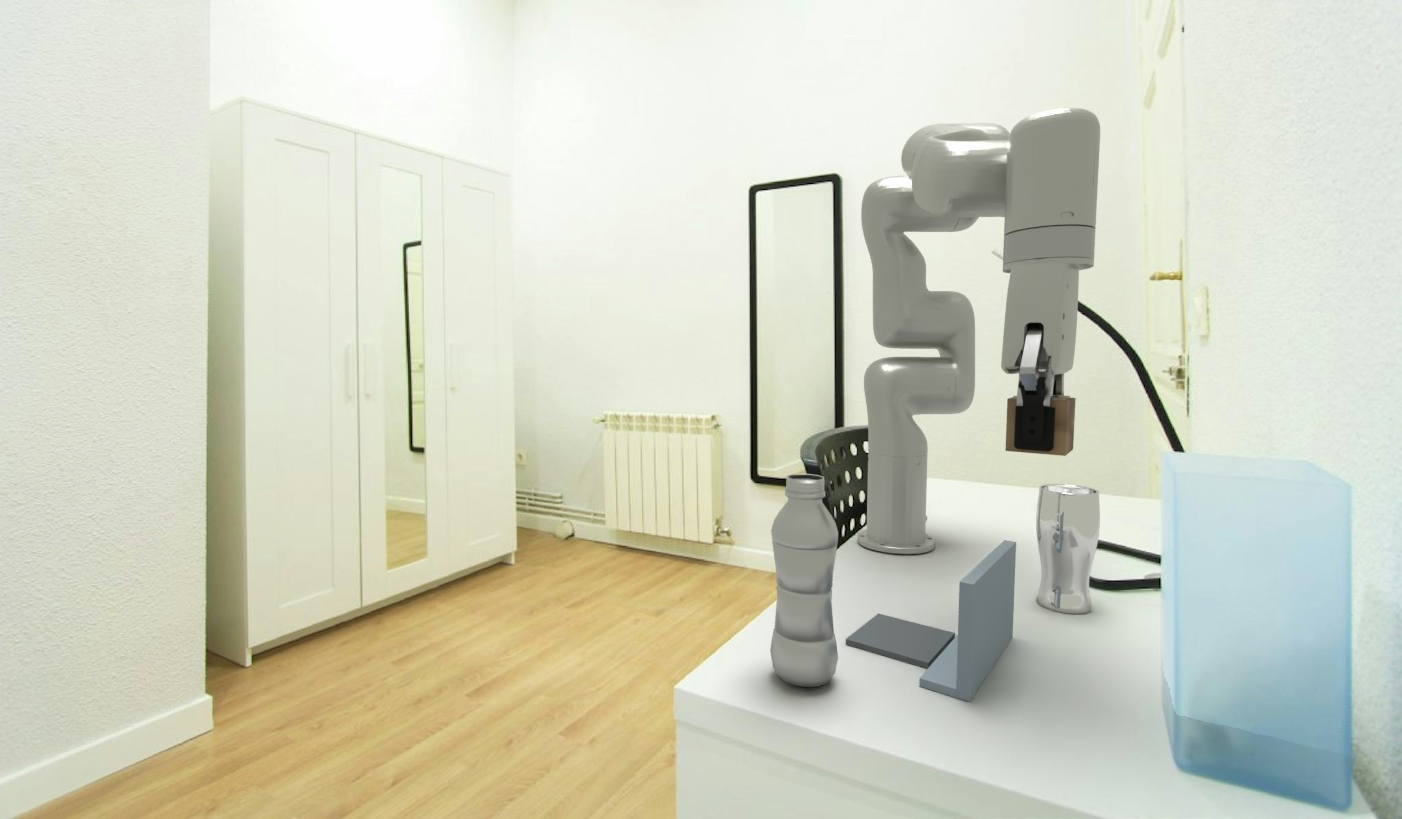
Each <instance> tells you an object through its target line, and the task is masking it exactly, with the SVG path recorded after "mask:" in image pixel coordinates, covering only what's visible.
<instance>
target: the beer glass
mask: <svg viewBox="0 0 1402 819" xmlns="http://www.w3.org/2000/svg"><path fill="white" fill-rule="evenodd" d="M1038 488H1039V490H1038V491H1039V492H1038V495H1037V496H1038V497H1037V504H1036V515H1035V516H1036V517H1035V529H1036V540H1037V547H1038V553H1039V554H1038V555H1039V561H1040V566H1041V568H1040V573H1041V576H1040V582H1039V588H1038V592H1037V594H1036V602H1037V603H1038V604H1039V605H1041V607H1043V608H1046V609H1047V610H1051V611H1053V612H1057V613H1063V614H1068V615H1069V614H1070V615H1084V614H1088V613H1090V612H1091V611H1092V607H1093V606H1092V599H1091V592H1090V575H1091V572H1092V567H1093V563H1094V559H1095V555H1096V552H1097V547H1098V542H1099V538H1100V537H1099V536H1100V526H1101V511H1100V510H1101V508H1100V507H1101V506H1100V490H1098V489H1095V488H1093V487H1089V486H1082V485H1078V484H1077V485H1075V484H1066V483H1065V484H1064V483H1048V484H1047V483H1046V484H1041V485H1039V487H1038Z"/></svg>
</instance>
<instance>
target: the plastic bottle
mask: <svg viewBox="0 0 1402 819" xmlns="http://www.w3.org/2000/svg"><path fill="white" fill-rule="evenodd" d="M785 480H786V482H785V484H786V485H785V490H784V495H785V496H786V497H787V501H786V502H785V504H784V505H783V506H782V508H781V509H780V510H779V512H778V513H777V514H776V516H775V518H774V520H773V523H772V525H771V530H770V532H771V535H770V536H771V541H772V552H773V556H774V563H775V564H774V565H775V579H776V580H775V581H776V605H775V606H776V608H775V616H774V617H775V619H774V628H773V631H772V636H771V642H770V651H769V652H770V657H771V663H772V668H773V670H775V673H776V674H777V675H778V677H779V678H780V679H781V680H783V681H784V682H786V683H787V684H791V685H794V686H797V687H798V686H799V687H804V688H813V687H821V686H823V685H825V684H827V683H829V682H830V680H832V678H833V677H834V675H835V674H836V671H837V670H836V669H837V666H838V660H839V656H838V655H839V652H838V646H837V639H836V634H835V631H834V618H833V615H834V614H833V602H832V600H833V598H832V597H833V589H832V588H833V581H834V568H835V561H836V556H837V549H838V542H839V531H838V527H837V524H836V522H835V519H834V517H833V516H832V514H831V512H830V511H829V510H828V508H827V507H826V506H825V504H824V503H823V499H824V498H826V490H825V484H826V483H825V476H823V475H819V474H813V473H794V474H793V473H791V474H788V475H787V476H786V479H785Z"/></svg>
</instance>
